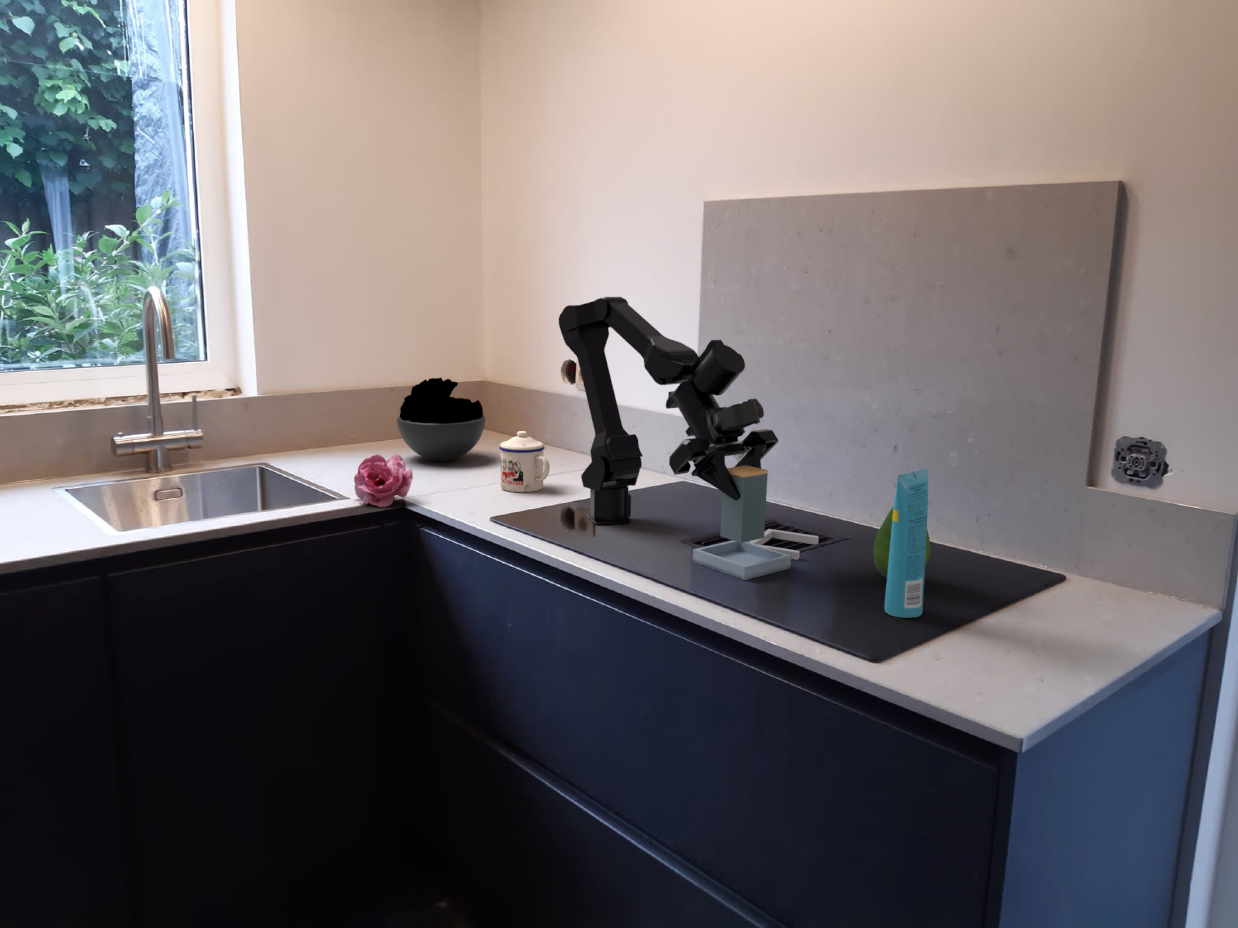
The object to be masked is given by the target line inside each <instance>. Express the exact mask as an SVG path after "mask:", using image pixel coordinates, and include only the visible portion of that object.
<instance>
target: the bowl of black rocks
mask: <svg viewBox="0 0 1238 928" xmlns="http://www.w3.org/2000/svg"><path fill="white" fill-rule="evenodd" d="M458 384H459V383H458V382H457V381H452V379H450V378H446V379H444V380H443V378H442V377H439V378H438V377H433V378H429V379H426V378H425V379H424V380H423V381H420V382H419V383H417V384H415V385H414V386H411V391H410V394H409V395H407V396H405V397H404V398H403V402H402V404H401V406H400V409H399V411H400V413H399V416H397V417H396V423H397V428H398V431H399V434H400V436H401V438H402V440H403V441H404V443H405V444H406V445H407V447H408V448H409V449H411V451H413V452H414V453H415V454H417V455H418V456H420V457H422V458H424V459H428V460H430V461H438V462H447V461H451V460H456V459H458V458H460V457H462V456H465V455H466V454H467V453H469V452H470V451H471V450H472V449H473V448H474V447H475V446H477V444H478V442H479V441H480V439H481V437H482V435H483V433H484V430H485V425H486V416H484V412H483V411H484V409H483V405H482V403H481V402H480V400H475V401H472V400H471V399H469V398H463V397H453V396H451V395H452V392H453V391H454V389H455V388H456V387H458Z"/></svg>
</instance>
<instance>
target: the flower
mask: <svg viewBox="0 0 1238 928" xmlns="http://www.w3.org/2000/svg"><path fill="white" fill-rule="evenodd" d="M406 465H407V464H406V461H405V459H403V458H402V456H401V455H399V454H395V453H394V454H393V455H392V456H391V457H390V458H388V459H387V460H386V459H385V457H384V456H382V455H381V454H379V453H378V454H373V455H371V456H370V457H367V458H365V459H363V461H361V462H360V463H359V465H358V466H357V472H356V474H355V475H354V477H353V482H354V491H355V495H356V497H357V498H358V499H362V502H363V503H364V504H370V505H371V506H376V507H379V508H384V507H385V508H386V507H389V506H391V505H392V504H393V503H394V500H395V496H397V497H399V498H405V497H407V496H408V493H409V491H410V488H411V486H412V485H411V484H412V482H413V479H414V478H413V477H414V476H413V469H412V468H411V467H410V468H408V469H406V467H407V466H406Z"/></svg>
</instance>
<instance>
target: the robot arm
mask: <svg viewBox="0 0 1238 928" xmlns="http://www.w3.org/2000/svg"><path fill="white" fill-rule="evenodd" d="M558 326H559V329H560V333H561V335H562V339H563V340H564V343H565V345H566V346H567V347H568V348H569V350H570V351H572V353H573V354H574V355H575V357H576V358H577V362H578V365H579V371H580V375H581V379H582V383H583V387H584V392H585V395H586V400H587V405H588V409H589V413H590V417H591V421H592V426H593V429H594V439H593V441H592V444H591V447H590V458H591V462H590V463H589V464H588V465H587V467H586V468H585V470H584V471H583V472H582V473H581V478H580V479H581V482H582V487H583V488H586V489H589V491H590V501H589V505H590V506H589V507H590V508H589V509H590V510H589V511H590V512H588V513H587V517H588V518H589V519H590V520H591V522H593V523H594V524H595V525H608V524H609V525H610V524H611V525H612V524H629V523H630V524H631V522H632V520H631V517H632V495H631V494H630V492H629V487H630V486H632V487H634V486H636V485H637V482H638V479H639V474H640V471H641V468H642V466H643V464H642V457H643V453H642V451H641V449H640V446H639V445H640V443H639V438H638V437H637V434H635V433H633V434H629V433H628V432H627V431H626V429H624V427H623V422H622V420H621V419H622V418H621V415H620V410H619V406H618V402H617V399H616V398H617V397H616V393H615V390H614V385H613V382H612V381H613V380H612V376H611V373H610V369H609V365H608V360H607V357H606V351H605V350H606V346H607V343H608V339H609V336H610V331H609V328H611V329H612V330H613V331H615V333H616V334H617V335H619V336H620V337H621V338H622V339H623V340H624V341H625V342H626V343H627V344H628V345H629V346H631V348H632V349H634V350H635V351H636V352H637V353H638V354H639V355H640V356H641V358H642V359H643V367H644V369H645V370H646V372H648V374H649V376H650V377H651V379H652V380H653V381H654V382H655V383H656V384H657V385H660V386H668V385H669V386H671V385H678V386H677V388H676V389H675V390H674V391H673V390H671V391H668V396H667V399H666V401H665V408H666V409H678V410H679V412H680V413H681V415H682V417H683V419H684V421H685V423H686V424H687V426H688V428H687V429H685V433H686V436H687V437H693V438H687V439H683V441H682V442H681V443H680V444H679V445H678V446H677V447H676V449H675V450H673V452H672V453H671V454H670V455H669V458H668V460H669V462H668V463H669V464H668V465H669V467H670V468H671V471H672V472H673V474H674V475H676V476H678V475H682V474H683V475H684V474H688V473H689V472H690V470H691V468H692V466H691V463H690V462H693V466H694V469H693V470H692V471H691V473H690V474H691V476H692V477H697V478H699V479H701V481H704V482H706V483H708V484H710V485H711V486H713V487H714V488H715V489H717V490H719V491H720V492H721V493H722V492H723V493H725V494H726V495H728V496H729V497H731V498H732V499H733V500H735V501H736V500H738V499H739V498H740V493H739V491H738V489H737V486H736V484H735V483H734V481H733V479H732V477H731V475H730V473H729V471H728V469H727V468H728V467H727V466H726V459H725V458H726V457H729V456H732V457H733V458H734V459H735V461H736V462H737V463H736V464H735V465H734V467H738V466H745V465H748V466H752V467H756V468H760V469H762V463H761V460H762V459H763V458H764V457H765V456H766V455H767V454H768V453H769V452H770V451H771V450H772V449H773V447H775V446H776V444H777V445H778V443H779V439H778V437H777V435H776V433H775V432H774V431H773V429H767V428H764V429H758V430H751V431H750V432H749V433H748V435H747V436H746V437H744V439H743V440H739V437H742V436H743V435H744V434H745V433H746V430H745V428H746V427H749V426H752V425H757V424H760V423H761V420H760V419H763V417H764V416H765V411H764V407H763V405H762V404H761V403H760V401H759V400H758V399H757V398H750V399H747V400H746V401H745V400H744V401H742V402H741V403H735V404H732V405H730V406H722V407H721V406H720V405H719V403H718V401H717V399H716V398H715V397H714V396H721V395H723V394H724V393H725V392H726V391H727V390H728V389H729V387H730V386H732V384H733V383H734V382H735V381H736V380H737V379H738V378H739V376H740V375H741V374H742V373H743V371H745V368H746V364H745V363H746V361H745V359H744V358H743V356H742V354H740V353H738V351H736V350H735V349H734V348H732V347H731V346H728V345H726V344H725V343H724V341H723V340H722V339H711V340H710V341H709V342H708V344H707V345H706V348H705V349H704V350H703V351H702V353H701V354H700V356H699V355H698V353H697V352H696V351H695V349H693V348H691V347H689V346H688V345H686V344H684V343H682V342H680V341H678V340H675V339H674V340H673V339H671V338H668V337H666V336H665V335H663V334H662V333H661V332H660V331H658V330H657V329H656V328H655V327H654V326H653V325H652V324H651V323H650V322H649V321H647V320H646V319H645V318H644V317H643V316H642V315H641V314H640V313H639V312H637V310H635V309H634V308H633V307H632V306H631V305H629V302H628V301H627V299H626V298H624V297H622V296H602V297H600V298H597V299H594V300H592V301H590V302H586V303H581V304H575V305H574V304H570V305H569V304H568V305H567V306H564V308H563V310H562V312H561V313H560V314H559V316H558Z"/></svg>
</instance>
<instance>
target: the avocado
mask: <svg viewBox="0 0 1238 928" xmlns="http://www.w3.org/2000/svg"><path fill="white" fill-rule="evenodd" d="M893 509H894V506H892V507H891V509H890V510H889V512H888V513H887V515H886V517H885V518H884V520H883V522H882V524H881V525H880V527H879V529H878V531H877V534H876V536H875V538H874V543H873V548H872V555H873V561H874V562H873V563H874V566H875V567H876V570H877V572H878V573H879V574H881V575H882V576H883V577H884V578H886V579H887V573H888V562H889V552H890V541H891V530H892V518H893ZM928 531H929V530H928V529H927V535H926V555H925V567H926V566H927V563H928V561H929V558H930V555H931V543H930V536H929V532H928Z"/></svg>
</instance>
